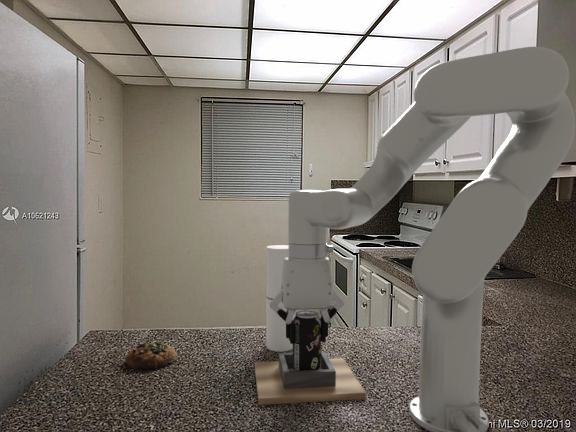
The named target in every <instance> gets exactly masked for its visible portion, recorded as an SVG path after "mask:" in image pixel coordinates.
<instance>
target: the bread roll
mask: <svg viewBox="0 0 576 432" xmlns="http://www.w3.org/2000/svg"><path fill="white" fill-rule="evenodd" d="M177 356H178V353H177V352H176V350H175V349H174V348H173V347H172V346H170V345H168V344H167V343H160V342H151V343H150V342H147V343H146V342H143V343H139V344H138V345H137V346H136V348H132V349H131V350H130V351H129V352H128V353H127V355H126V356H125V364H126V365H127V366H128V367H129V368H130V369H132V370H136V371H142V372H143V371H145V372H146V371H153V370H155V369H156V370H157V369H160V368H164V367H167V366H168V364H169V363H170V364H173V363H174V362H175V361H176V360H177V359H176V358H177Z"/></svg>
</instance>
